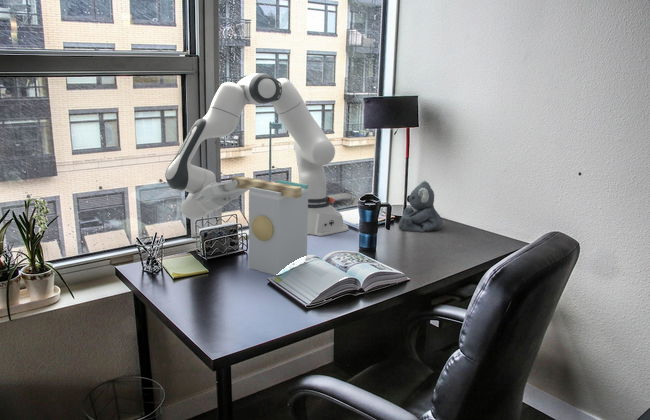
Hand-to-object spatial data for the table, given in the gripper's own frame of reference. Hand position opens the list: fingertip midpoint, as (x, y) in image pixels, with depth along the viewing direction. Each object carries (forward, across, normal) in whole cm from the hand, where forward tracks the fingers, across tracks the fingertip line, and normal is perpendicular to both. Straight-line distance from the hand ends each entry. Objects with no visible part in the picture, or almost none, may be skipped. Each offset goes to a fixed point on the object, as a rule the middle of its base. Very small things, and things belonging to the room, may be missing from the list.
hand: (242, 180), depth 177 cm
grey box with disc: (-4, +4, +30) cm, 31 cm away
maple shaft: (+7, 0, +7) cm, 10 cm away
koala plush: (+14, +77, +41) cm, 88 cm away
